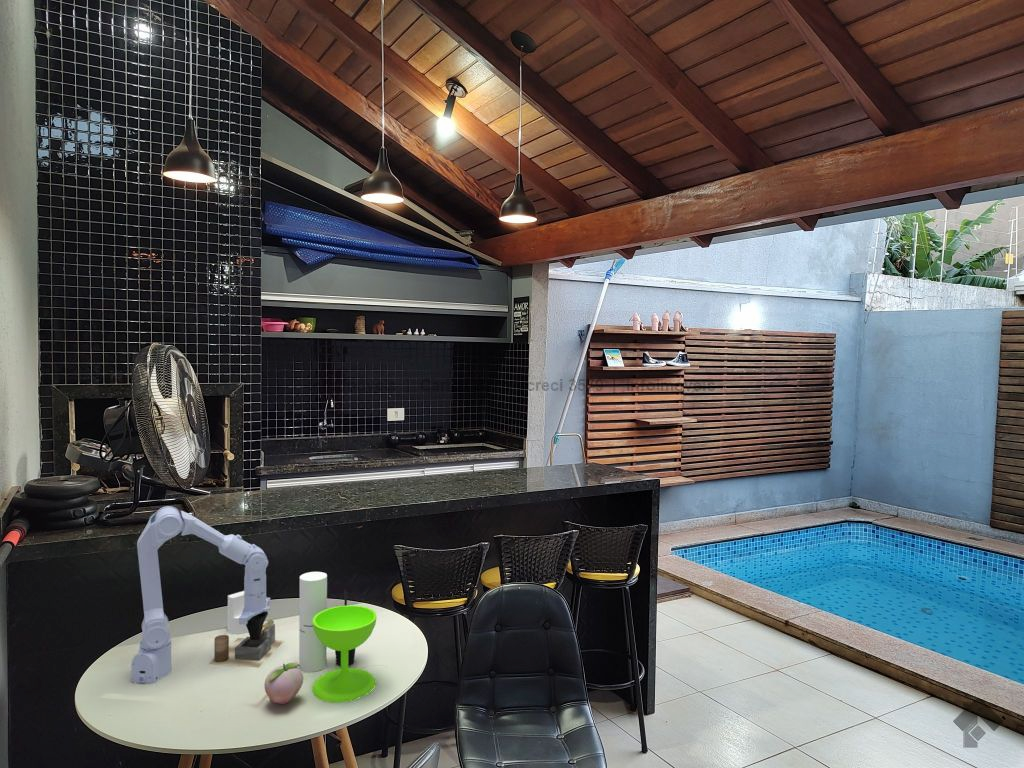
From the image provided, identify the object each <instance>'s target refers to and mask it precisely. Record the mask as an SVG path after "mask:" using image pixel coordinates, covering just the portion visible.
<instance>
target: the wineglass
mask: <svg viewBox="0 0 1024 768" xmlns="http://www.w3.org/2000/svg"><path fill="white" fill-rule="evenodd" d="M377 618H378V617H377V612H376V611H374V609H372V608H369V607H366V606H362V605H354V604H353V605H349V604H347V606H344V605H339V606H332V607H329V608H327V609H326V610H323V611H321V612H319V613H318V614H316V615H315V616H314V618H313V628H314V632H315V634H316V636H317V638H318V639H319V640H320V641H321V643H322V644H323V645H325V646H326V647H327V648H328V649H330V650H333V651H335V650H336V651H341V666H340V668H337V669H334V670H331V671H330V670H329V671H328V672H325V673H324V674H322V675H321V676H318V678H317V679H316V680H315V681H314V683H313V685H312V688H311V690H312V691H311V692H312V694H313V695H314V696H315V697H316V698H317V699H319V700H322V701H324V702H329V703H346V702H345V701H347V702H351V701H350V700H352V701H355V699H356V700H358V699H357V698H359V697H362V696H364V695H365V694H367V693H369V692H370V691H371V690H372V689H373V688H374V686H375V687H376V685H375V684H377V683H376V682H375V681H376V678H375V676H374V675H373V674H372V673H370V672H369V671H367V670H364V669H361V668H356V667H355V668H354V667H349V666H348V650H352V649H355V650H356V648H359V647H360V646H361V645H362V644H364V643H365V642H367V640H368V639H369V638H370V637H371V635H372V633H373V631H374V628H375V626H376V623H377V622H376V621H377ZM374 689H375V688H374ZM374 689H373V690H374ZM373 690H372V691H373ZM372 691H371V692H372ZM371 692H370V693H371ZM370 693H369V694H370ZM367 695H368V694H367ZM364 697H365V696H364ZM362 698H363V697H362ZM359 699H360V698H359Z"/></svg>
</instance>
